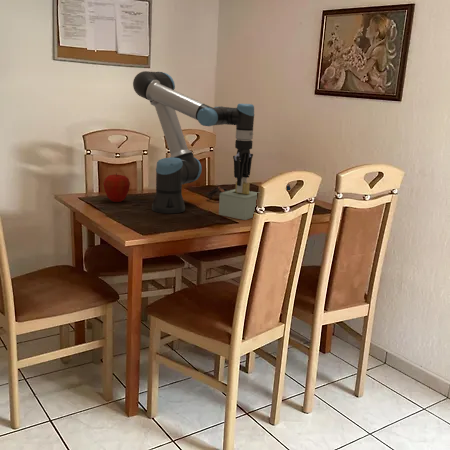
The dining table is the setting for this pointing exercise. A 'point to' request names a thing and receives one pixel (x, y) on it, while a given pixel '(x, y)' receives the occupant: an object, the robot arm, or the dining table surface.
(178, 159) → the robot arm
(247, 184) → the beige flat block
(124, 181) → the apple
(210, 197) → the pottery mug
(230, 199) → the coin box
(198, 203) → the dining table surface
